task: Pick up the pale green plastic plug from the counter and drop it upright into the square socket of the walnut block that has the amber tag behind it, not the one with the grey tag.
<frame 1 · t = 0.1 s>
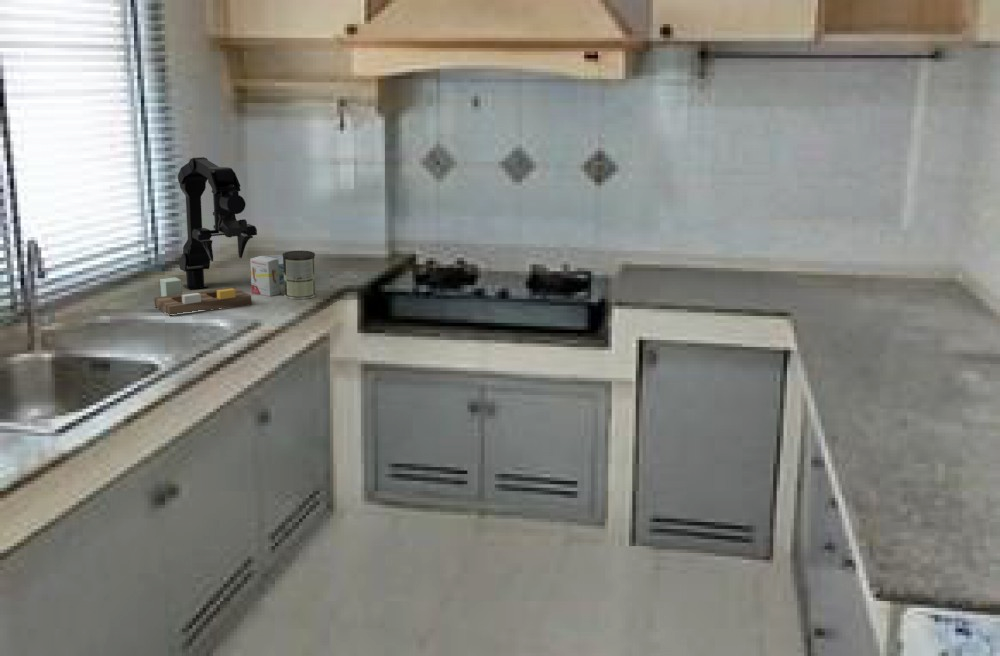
hand: (226, 259, 306), 15 cm above the worktop, fingers open, 9 cm apart
plug: (172, 301, 313), on the worktop
ink box: (265, 294, 325), on the worktop
coffee can: (300, 296, 323), on the worktop
socket block: (203, 305, 308), on the worktop
chinaware: (273, 282, 342), on the worktop
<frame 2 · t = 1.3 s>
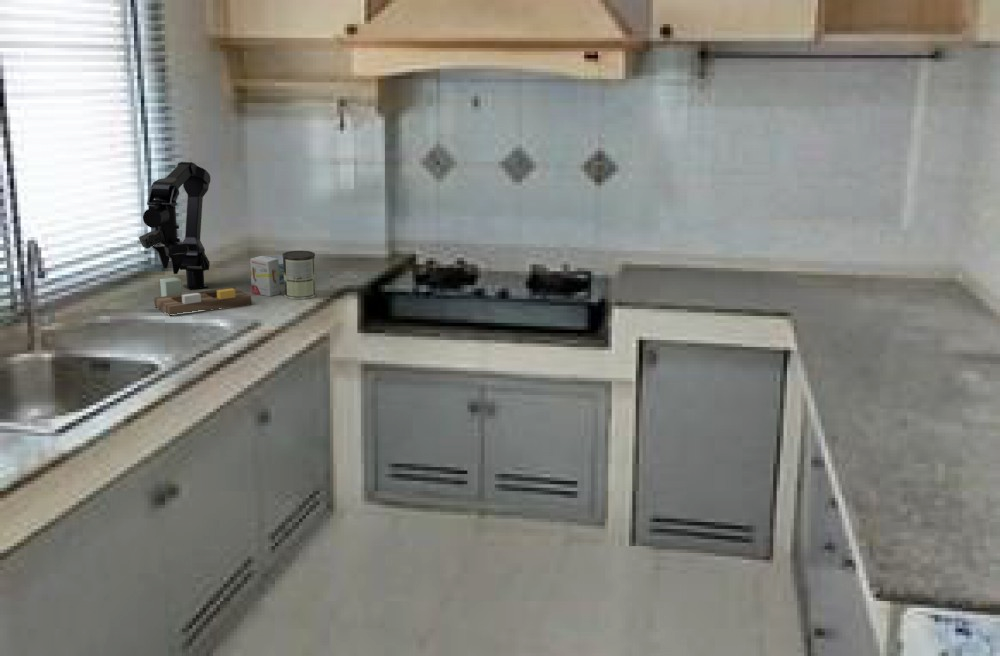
hand: (170, 271, 310), 10 cm above the worktop, fingers open, 9 cm apart
nothing on the worktop moved.
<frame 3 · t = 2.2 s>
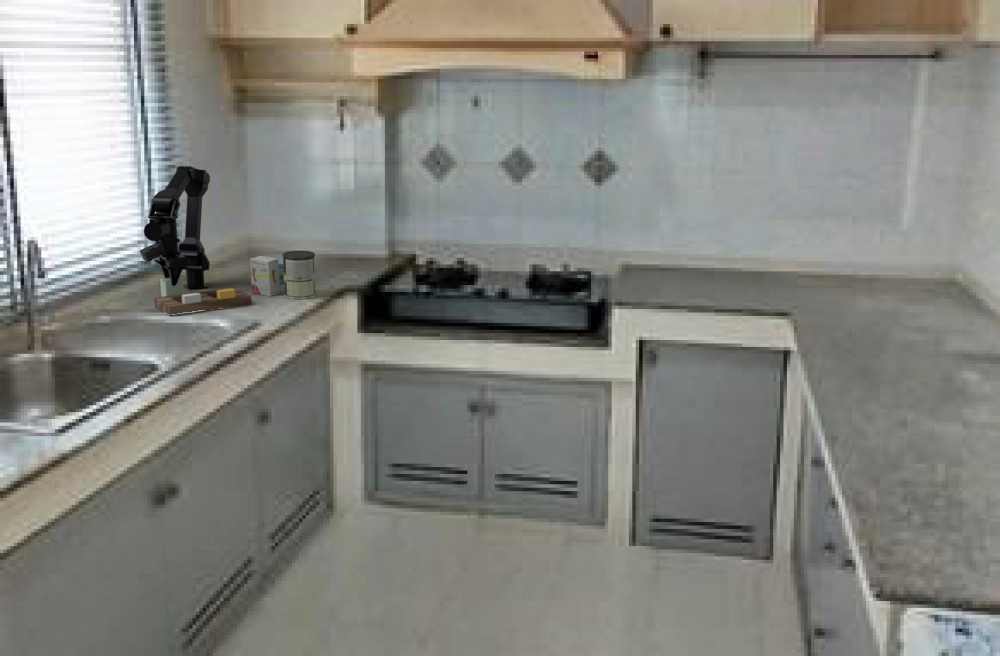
hand: (171, 284, 311), 6 cm above the worktop, fingers closed on plug, 5 cm apart
plug: (172, 301, 313), on the worktop, touching gripper
everything else where it was.
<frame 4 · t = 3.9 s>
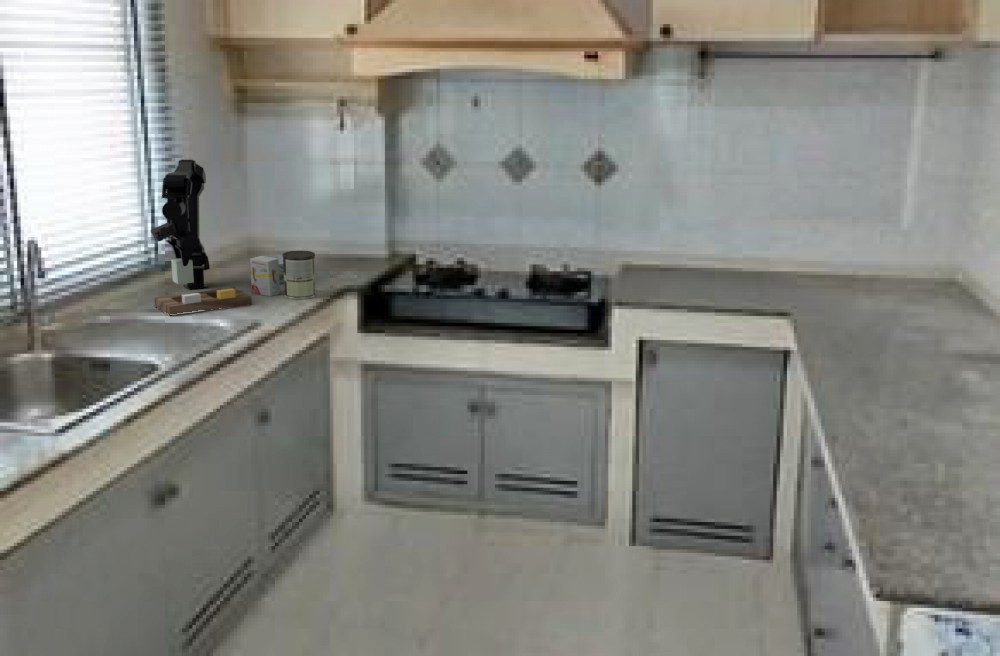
hand: (182, 264, 309), 12 cm above the worktop, fingers closed on plug, 5 cm apart
plug: (183, 281, 310), point 7 cm above the worktop, touching gripper
everything else where it was.
when the fingers open (7 cm above the worktop, at t = 5.9 s): plug drops 2 cm, resting in socket block.
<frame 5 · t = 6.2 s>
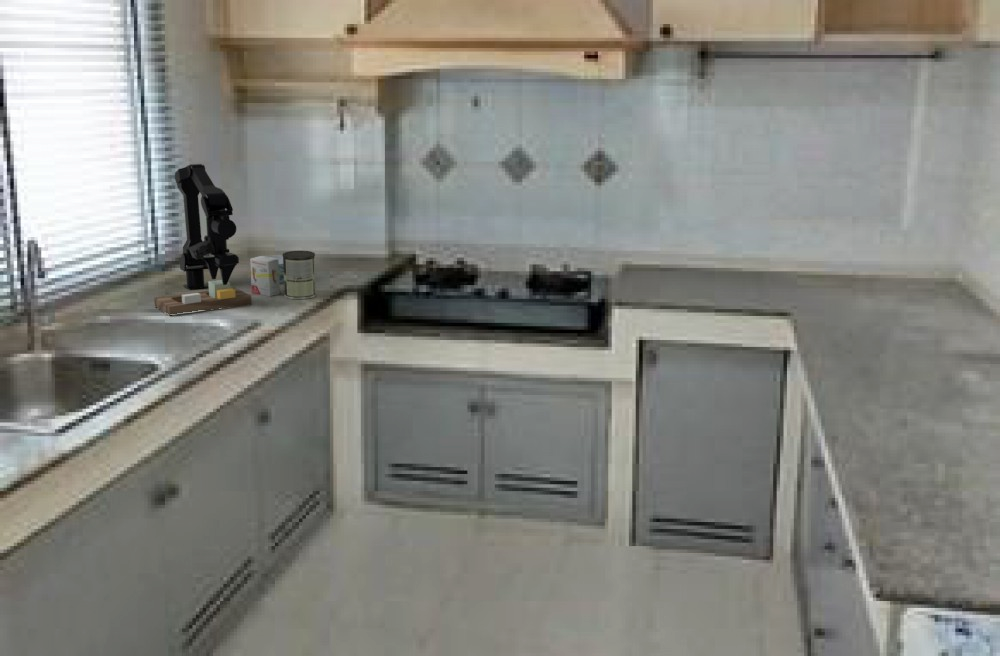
hand: (219, 281, 309), 7 cm above the worktop, fingers open, 9 cm apart
plug: (220, 303, 311), resting in socket block
everything else where it was.
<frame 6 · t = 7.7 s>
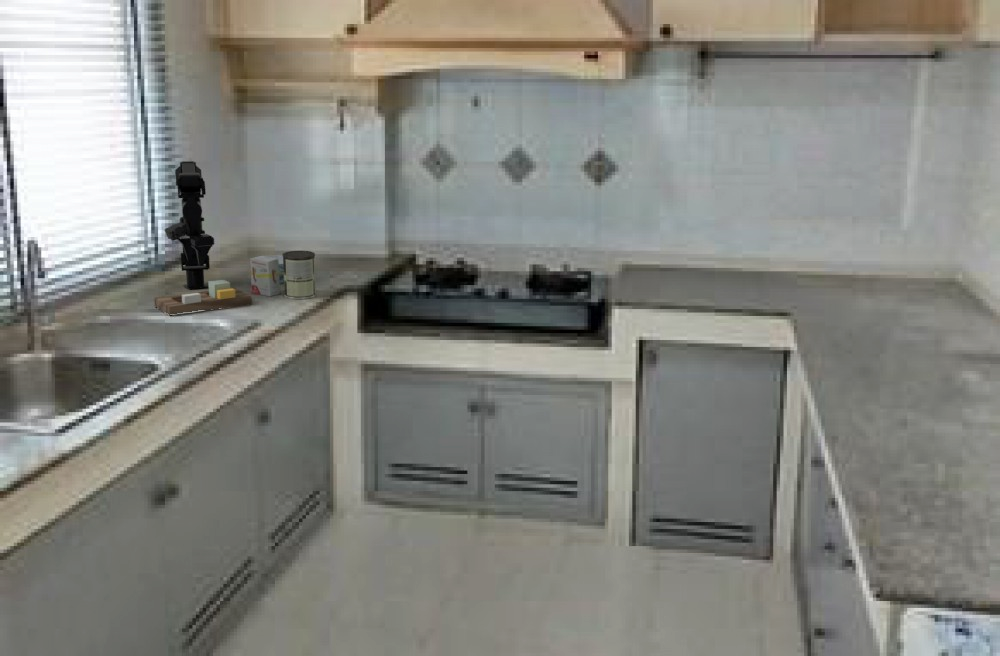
hand: (195, 262, 313), 12 cm above the worktop, fingers open, 9 cm apart
nothing on the worktop moved.
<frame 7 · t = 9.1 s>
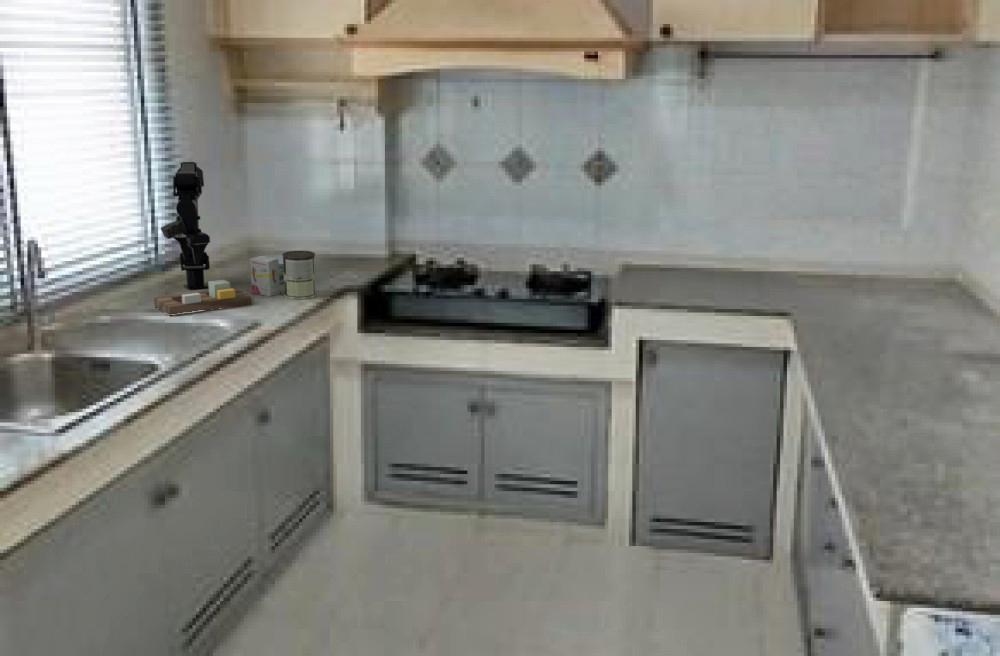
hand: (191, 261, 314), 12 cm above the worktop, fingers open, 9 cm apart
nothing on the worktop moved.
at the end: plug 0.1 cm from the target spot on the socket block, point 0.0 cm above the socket block's base; plug tilted 0°; the gripper is holding nothing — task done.
